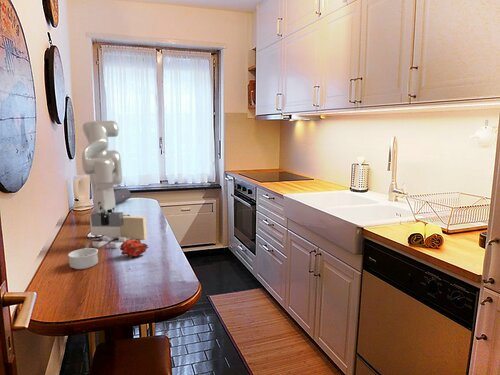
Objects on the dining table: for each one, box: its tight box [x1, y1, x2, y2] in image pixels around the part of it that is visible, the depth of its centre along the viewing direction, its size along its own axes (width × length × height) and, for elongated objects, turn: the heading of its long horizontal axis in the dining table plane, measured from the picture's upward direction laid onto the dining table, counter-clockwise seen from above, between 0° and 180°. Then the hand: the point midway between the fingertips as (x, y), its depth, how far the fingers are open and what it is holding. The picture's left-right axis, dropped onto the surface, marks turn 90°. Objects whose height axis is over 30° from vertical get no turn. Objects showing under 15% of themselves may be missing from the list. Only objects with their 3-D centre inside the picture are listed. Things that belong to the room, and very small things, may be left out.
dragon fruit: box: [119, 239, 149, 259], centre depth 162 cm, size 8×8×12 cm
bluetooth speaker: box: [114, 188, 132, 206], centre depth 272 cm, size 23×9×10 cm, turn 167°
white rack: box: [89, 215, 148, 249], centre depth 182 cm, size 18×30×11 cm, turn 78°
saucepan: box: [67, 241, 99, 270], centre depth 157 cm, size 12×20×6 cm, turn 15°
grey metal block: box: [90, 211, 124, 227], centre depth 177 cm, size 4×14×6 cm, turn 84°
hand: (107, 223), depth 177 cm, fingers closed on grey metal block, 4 cm apart
